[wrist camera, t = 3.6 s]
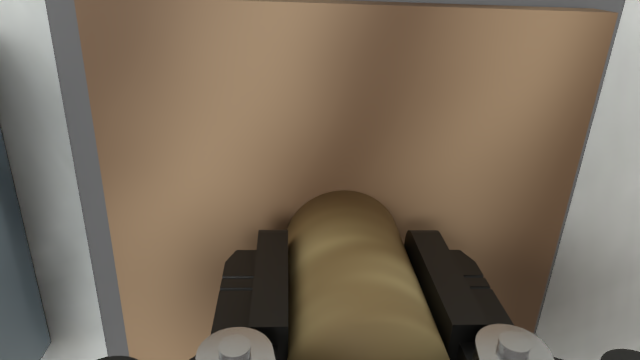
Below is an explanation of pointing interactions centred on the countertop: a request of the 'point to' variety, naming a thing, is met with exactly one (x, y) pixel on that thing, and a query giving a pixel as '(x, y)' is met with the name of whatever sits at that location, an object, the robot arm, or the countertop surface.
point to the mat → (88, 161)
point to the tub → (17, 280)
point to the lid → (334, 156)
